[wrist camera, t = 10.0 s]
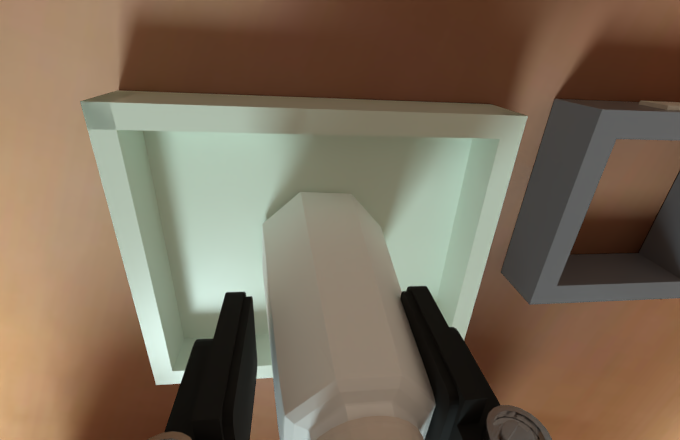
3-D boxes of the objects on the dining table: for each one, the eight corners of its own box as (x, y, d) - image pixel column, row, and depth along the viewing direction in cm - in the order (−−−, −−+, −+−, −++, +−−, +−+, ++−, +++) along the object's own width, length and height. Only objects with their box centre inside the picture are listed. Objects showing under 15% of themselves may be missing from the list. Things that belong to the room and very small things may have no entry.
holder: (734, 102, 15) (808, 112, 13) (646, 268, 19) (692, 297, 17) (555, 94, 14) (603, 105, 12) (500, 272, 18) (529, 304, 16)
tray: (491, 104, 14) (528, 115, 12) (438, 328, 20) (456, 365, 17) (117, 90, 12) (80, 101, 10) (173, 342, 18) (156, 385, 16)
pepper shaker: (290, 164, 14) (317, 463, 4) (403, 216, 15) (616, 510, 6) (237, 273, 15) (166, 664, 6) (345, 308, 17) (431, 651, 7)
